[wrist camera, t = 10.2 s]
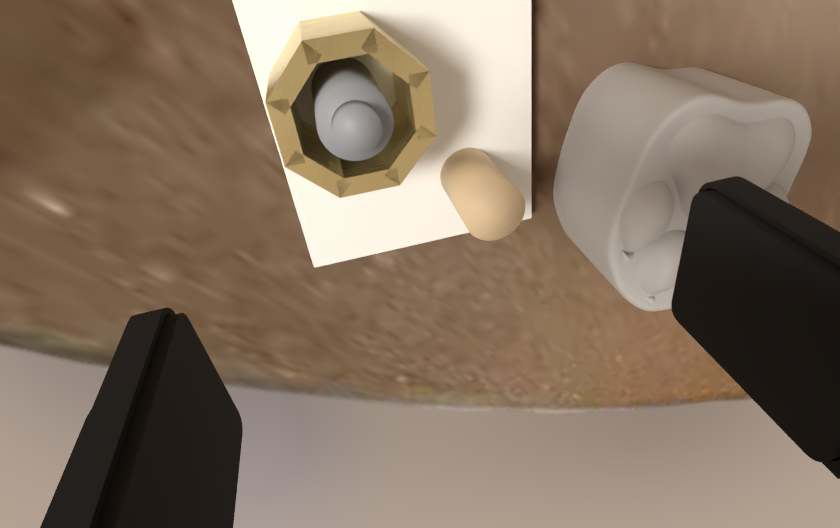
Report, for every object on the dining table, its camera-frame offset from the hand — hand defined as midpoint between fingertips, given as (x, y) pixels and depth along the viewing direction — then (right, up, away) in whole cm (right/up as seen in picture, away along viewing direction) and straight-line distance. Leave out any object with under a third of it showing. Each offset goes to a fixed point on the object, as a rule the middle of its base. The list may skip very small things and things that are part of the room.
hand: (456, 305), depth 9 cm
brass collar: (-4, +10, +16) cm, 19 cm away
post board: (-2, +9, +19) cm, 21 cm away
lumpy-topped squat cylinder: (+13, +7, +24) cm, 28 cm away
